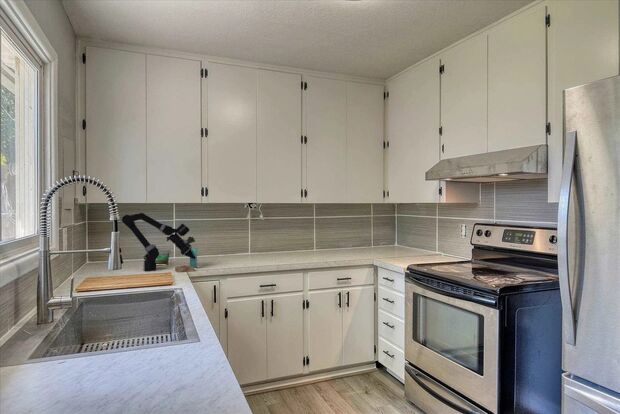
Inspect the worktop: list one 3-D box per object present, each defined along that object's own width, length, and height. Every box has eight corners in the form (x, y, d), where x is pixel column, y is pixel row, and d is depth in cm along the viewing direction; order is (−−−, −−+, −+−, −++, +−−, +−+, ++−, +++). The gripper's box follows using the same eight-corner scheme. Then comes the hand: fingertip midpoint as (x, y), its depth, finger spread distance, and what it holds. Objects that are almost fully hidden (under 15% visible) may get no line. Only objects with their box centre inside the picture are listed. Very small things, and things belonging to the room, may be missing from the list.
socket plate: (179, 272, 231) (179, 268, 231) (175, 270, 238) (175, 266, 238) (193, 271, 236) (193, 267, 236) (189, 269, 243) (189, 265, 243)
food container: (150, 265, 259) (150, 250, 259) (151, 264, 265) (151, 250, 265) (169, 265, 262) (169, 250, 262) (170, 264, 268) (170, 249, 268)
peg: (190, 269, 245) (191, 248, 245) (188, 268, 249) (189, 248, 249) (197, 268, 248) (198, 248, 248) (195, 267, 251) (195, 248, 251)
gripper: (186, 233, 239) (204, 250, 241) (188, 231, 257) (205, 248, 259) (173, 246, 236) (191, 263, 239) (175, 243, 255) (192, 259, 257)
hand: (195, 258), depth 249 cm, fingers closed on peg, 4 cm apart
